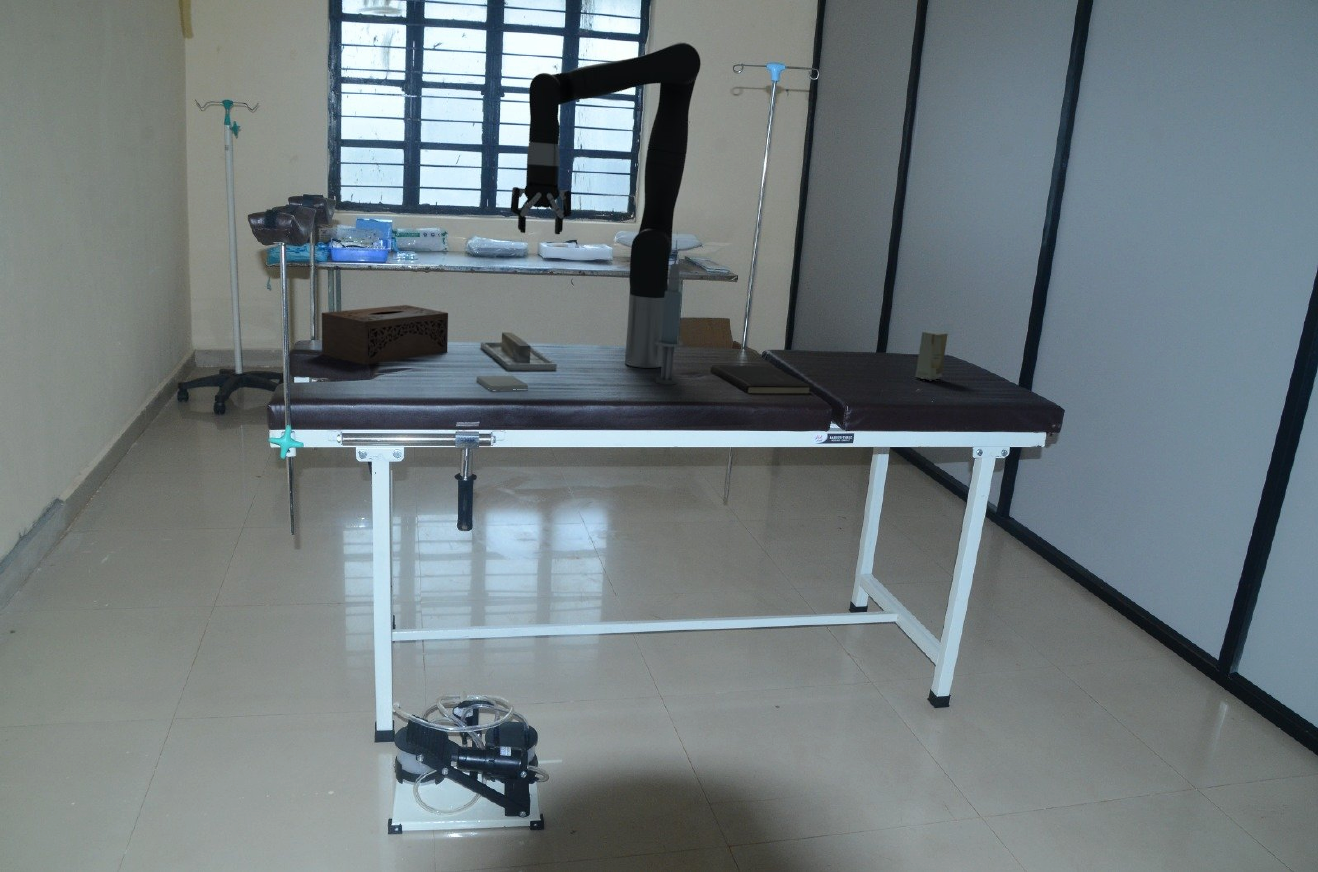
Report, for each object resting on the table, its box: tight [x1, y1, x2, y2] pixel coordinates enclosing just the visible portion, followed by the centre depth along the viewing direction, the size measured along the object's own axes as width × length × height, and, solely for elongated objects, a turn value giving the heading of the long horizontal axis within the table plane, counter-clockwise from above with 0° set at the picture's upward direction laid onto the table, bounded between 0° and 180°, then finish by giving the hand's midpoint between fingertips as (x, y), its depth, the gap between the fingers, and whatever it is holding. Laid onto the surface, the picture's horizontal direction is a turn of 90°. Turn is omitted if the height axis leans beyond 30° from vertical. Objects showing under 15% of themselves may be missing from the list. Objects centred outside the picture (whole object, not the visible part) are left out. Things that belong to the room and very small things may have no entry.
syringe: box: [655, 230, 684, 385], centre depth 230 cm, size 5×6×35 cm
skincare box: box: [915, 330, 949, 379], centre depth 261 cm, size 6×4×12 cm
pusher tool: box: [501, 331, 532, 363], centre depth 249 cm, size 3×18×4 cm, turn 22°
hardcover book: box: [710, 364, 813, 394], centre depth 242 cm, size 16×23×2 cm
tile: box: [476, 374, 529, 392], centre depth 219 cm, size 8×2×10 cm
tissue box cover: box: [321, 304, 449, 366], centre depth 242 cm, size 26×14×10 cm, turn 147°
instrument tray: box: [480, 341, 558, 372], centre depth 248 cm, size 12×28×2 cm, turn 22°
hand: (540, 233), depth 244 cm, fingers open, 8 cm apart
